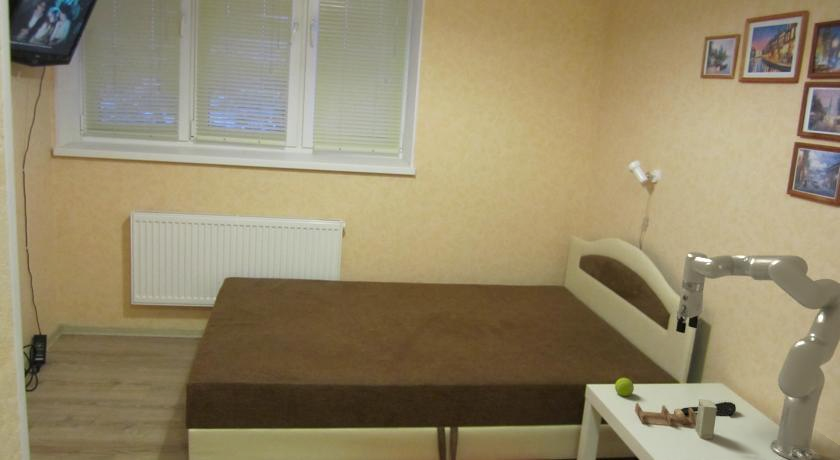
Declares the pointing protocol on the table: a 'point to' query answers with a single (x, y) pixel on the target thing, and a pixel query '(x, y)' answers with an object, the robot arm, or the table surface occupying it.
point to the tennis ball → (624, 387)
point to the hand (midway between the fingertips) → (686, 329)
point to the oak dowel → (681, 417)
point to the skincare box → (706, 419)
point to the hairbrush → (721, 407)
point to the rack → (665, 418)
